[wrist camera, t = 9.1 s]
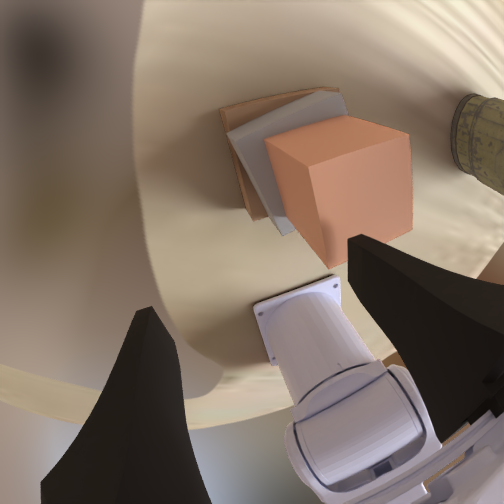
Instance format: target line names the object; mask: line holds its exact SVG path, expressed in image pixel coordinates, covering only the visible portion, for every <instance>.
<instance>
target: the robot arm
mask: <svg viewBox="0 0 504 504" xmlns="http://www.w3.org/2000/svg"><path fill="white" fill-rule="evenodd" d="M347 248H348V282H349V284H350V285H351V287H352V289H353V291H354V292H355V294H356V296H357V297H358V299H359V301H360V302H361V303H362V305H363V306H364V307H365V309H366V310H367V311H368V313H369V314H370V315H371V316H372V318H373V319H374V320H375V322H376V323H377V324H378V325H379V327H380V328H381V329H382V331H383V332H384V333H385V335H386V336H387V337H388V339H389V340H390V341H391V343H392V344H393V345H394V347H395V348H396V350H397V351H398V353H399V355H400V356H401V358H402V360H403V362H404V363H405V365H406V367H407V369H408V370H407V369H406V368H404V367H402V366H397V365H395V364H392V365H390V366H389V367H387V369H386V368H385V366H384V365H383V363H382V362H381V360H380V359H377V360H375V358H374V357H373V355H372V354H371V352H370V351H369V349H368V348H367V346H366V345H365V343H364V342H363V340H362V339H361V337H360V336H359V334H358V333H357V331H356V330H355V328H354V327H353V326H352V324H351V323H350V321H349V320H348V318H347V317H346V315H345V314H344V312H343V311H342V310H341V291H340V278H339V276H337V275H333V276H330V277H328V278H325V279H322V280H320V281H317V282H315V283H312V284H309V285H306V286H304V287H301V288H298V289H296V290H293V291H290V292H287V293H285V294H282V295H279V296H276V297H273V298H271V299H268V300H265V301H262V302H259V303H257V304H255V305H254V307H253V310H254V313H255V316H256V320H257V323H258V326H259V329H260V332H261V335H262V338H263V341H264V344H265V348H266V351H267V354H268V357H269V360H270V363H271V365H272V366H276V365H278V366H279V368H280V370H281V373H282V375H283V378H284V380H285V383H286V385H287V388H288V390H289V393H290V395H291V397H292V400H293V402H294V405H295V407H293V408H292V409H290V412H291V414H292V417H293V419H294V421H292V422H290V423H289V424H288V425H287V427H286V432H285V435H284V443H285V447H286V451H287V454H288V457H289V460H290V462H291V464H292V466H293V468H294V470H295V471H296V473H297V475H298V476H299V477H300V479H301V480H302V481H303V482H304V483H305V484H306V485H307V486H309V487H311V489H312V490H313V491H314V492H315V493H316V494H317V496H318V497H319V498H320V500H321V501H322V502H324V503H325V504H504V285H500V284H495V283H490V282H485V281H482V280H478V279H474V278H470V277H467V276H463V275H460V274H457V273H454V272H451V271H448V270H445V269H443V268H440V267H437V266H435V265H432V264H430V263H427V262H425V261H422V260H420V259H418V258H415V257H413V256H411V255H409V254H406V253H404V252H402V251H400V250H398V249H395V248H393V247H391V246H389V245H387V244H385V243H382V242H380V241H378V240H376V239H373V238H371V237H369V236H366V235H364V234H359V235H356V236H354V237H351V238H348V239H347ZM334 284H335V285H334ZM259 312H261V313H259ZM468 423H469V424H470V425H471V426H470V427H469V428H467V429H466V430H465V431H464V432H462V433H461V434H460V435H459V436H457V437H456V438H455V439H453V440H452V441H451V442H449V443H448V444H447V445H445V446H444V447H442V443H443V442H444V441H446V440H447V439H448V438H450V437H451V436H453V435H454V434H455V433H456V432H458V431H459V430H460V429H462V428H463V427H464V426H465V425H467V424H468ZM465 451H466V452H465ZM464 452H465V457H464V459H463V460H461V461H460V462H458V463H456V464H455V465H453V466H452V467H450V468H449V469H447V470H446V471H445V472H443V473H442V474H441V475H439V476H438V477H437V478H435V479H434V480H433V481H431V482H430V483H429V484H428V485H427V487H428V489H429V491H430V492H429V493H427V491H426V489H425V487H424V485H423V481H425V480H427V479H428V478H430V477H431V476H433V475H434V474H435V473H437V472H438V471H440V470H441V469H443V468H444V467H445V466H447V465H448V464H450V463H451V462H452V461H454V460H455V459H456V458H457V457H459V456H460V455H461V454H463V453H464ZM41 504H212V503H211V500H210V498H209V496H208V493H207V491H206V488H205V485H204V482H203V480H202V477H201V474H200V471H199V468H198V465H197V462H196V458H195V455H194V452H193V448H192V445H191V441H190V437H189V433H188V429H187V423H186V416H185V408H184V399H183V390H182V380H181V371H180V365H179V359H178V354H177V350H176V346H175V342H174V340H173V339H172V337H171V335H170V334H169V333H168V331H167V329H166V328H165V326H164V325H163V323H162V321H161V320H160V318H159V317H158V315H157V314H156V312H155V310H154V309H153V307H152V306H151V307H147V308H144V309H141V310H138V311H136V313H135V315H134V318H133V320H132V322H131V325H130V327H129V330H128V332H127V335H126V338H125V340H124V342H123V345H122V348H121V350H120V352H119V355H118V357H117V360H116V362H115V365H114V367H113V369H112V371H111V374H110V376H109V378H108V380H107V383H106V385H105V387H104V389H103V391H102V393H101V395H100V397H99V399H98V401H97V403H96V405H95V407H94V408H93V410H92V412H91V414H90V416H89V417H88V419H87V420H86V422H85V424H84V425H83V427H82V429H81V430H80V432H79V434H78V435H77V437H76V438H75V440H74V441H73V443H72V444H71V445H70V447H69V448H68V450H67V451H66V452H65V454H64V455H63V456H62V458H61V459H60V460H59V462H58V463H57V464H56V465H55V467H54V468H53V469H52V470H51V471H50V472H49V473H48V474H47V476H46V477H45V478H44V479H43V480H42V481H41Z"/></svg>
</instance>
